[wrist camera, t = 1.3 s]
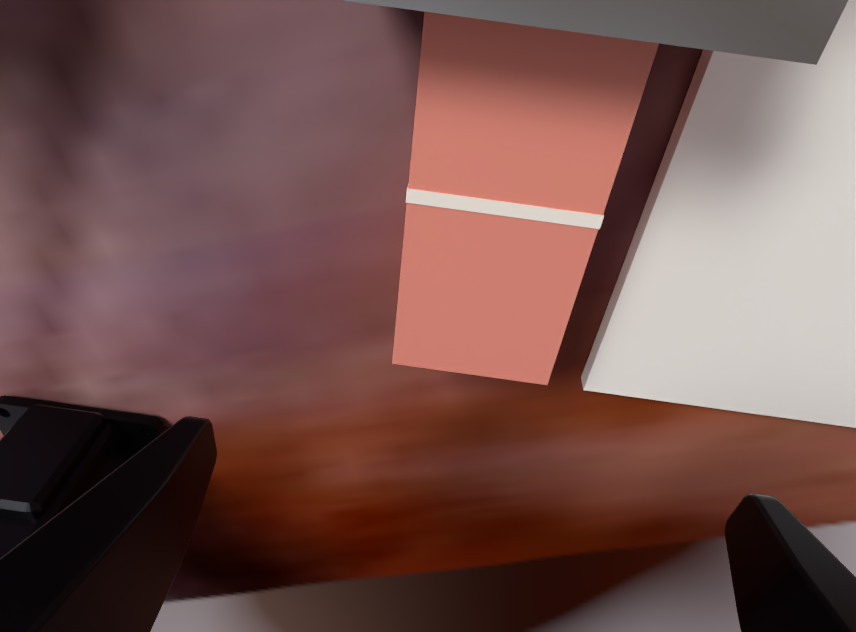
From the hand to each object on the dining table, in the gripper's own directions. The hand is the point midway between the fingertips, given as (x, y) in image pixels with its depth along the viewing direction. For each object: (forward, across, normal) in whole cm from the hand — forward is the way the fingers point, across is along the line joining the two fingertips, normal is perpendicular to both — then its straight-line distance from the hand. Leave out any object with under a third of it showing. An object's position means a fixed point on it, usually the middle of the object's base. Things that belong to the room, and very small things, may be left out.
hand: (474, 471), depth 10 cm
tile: (+8, -10, -1) cm, 13 cm away
